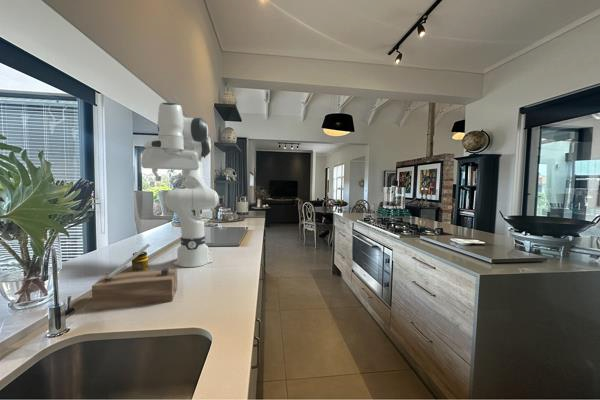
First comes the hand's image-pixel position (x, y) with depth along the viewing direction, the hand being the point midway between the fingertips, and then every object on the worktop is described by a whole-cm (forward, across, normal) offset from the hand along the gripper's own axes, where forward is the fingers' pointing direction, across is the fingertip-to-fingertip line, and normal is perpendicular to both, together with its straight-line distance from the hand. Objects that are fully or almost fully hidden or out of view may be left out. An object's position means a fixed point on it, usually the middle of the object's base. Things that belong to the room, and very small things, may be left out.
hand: (171, 181), depth 103 cm
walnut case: (+43, +12, +1) cm, 44 cm away
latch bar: (+30, +14, 0) cm, 33 cm away
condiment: (+43, +9, -19) cm, 48 cm away
